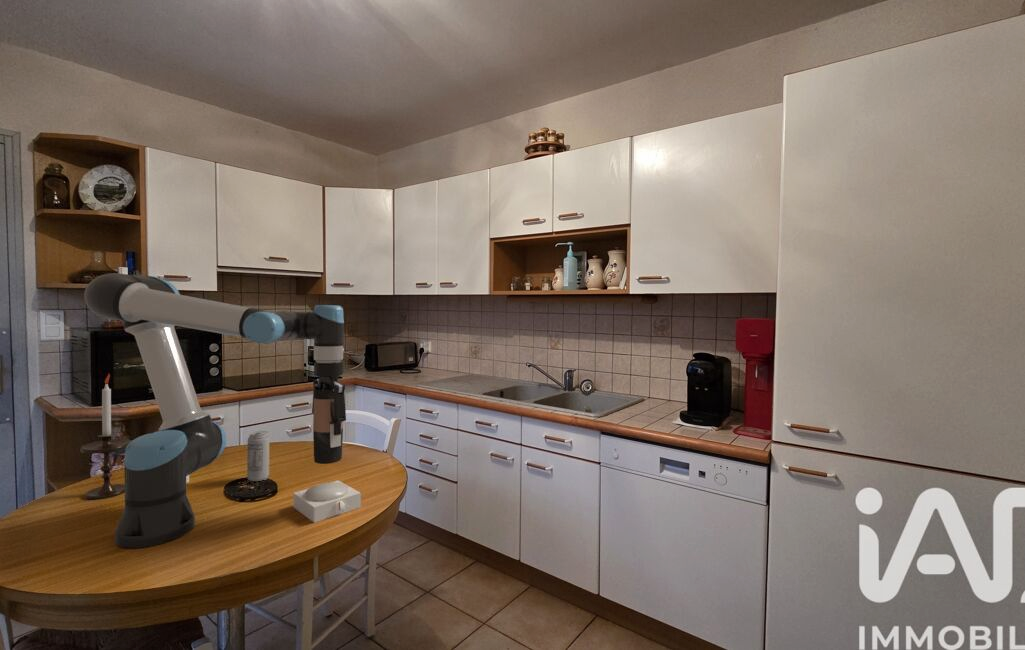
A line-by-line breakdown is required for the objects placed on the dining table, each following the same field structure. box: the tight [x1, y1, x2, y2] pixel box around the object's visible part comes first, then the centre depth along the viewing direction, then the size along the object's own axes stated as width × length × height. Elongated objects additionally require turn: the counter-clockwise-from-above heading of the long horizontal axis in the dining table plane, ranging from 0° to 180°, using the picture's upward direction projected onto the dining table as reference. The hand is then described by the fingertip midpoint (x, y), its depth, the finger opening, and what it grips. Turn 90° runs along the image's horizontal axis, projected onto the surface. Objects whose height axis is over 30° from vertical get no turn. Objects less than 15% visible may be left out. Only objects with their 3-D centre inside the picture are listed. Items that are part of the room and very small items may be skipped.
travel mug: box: [312, 387, 344, 465], centre depth 123 cm, size 8×8×20 cm
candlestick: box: [80, 374, 132, 501], centre depth 129 cm, size 11×11×35 cm
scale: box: [292, 480, 362, 524], centre depth 124 cm, size 13×14×5 cm
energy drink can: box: [246, 430, 270, 482], centre depth 142 cm, size 6×6×15 cm
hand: (328, 443), depth 124 cm, fingers closed on travel mug, 8 cm apart
